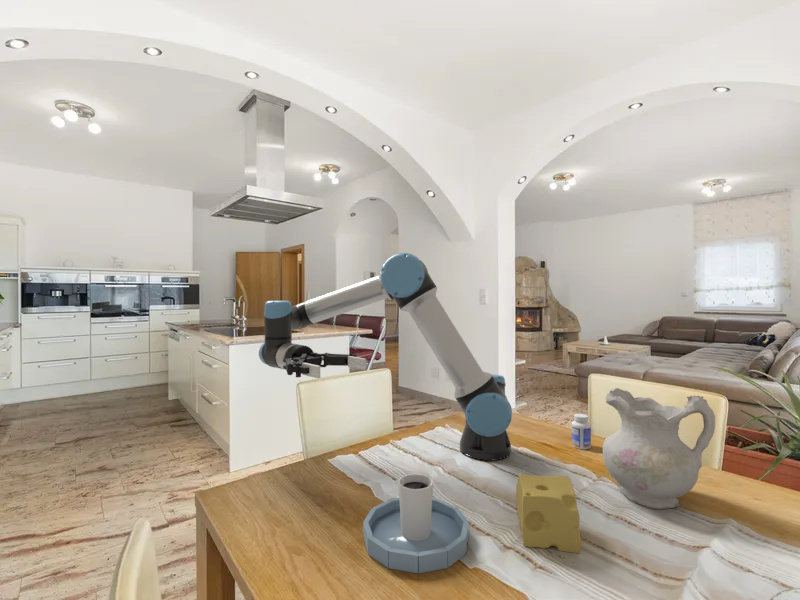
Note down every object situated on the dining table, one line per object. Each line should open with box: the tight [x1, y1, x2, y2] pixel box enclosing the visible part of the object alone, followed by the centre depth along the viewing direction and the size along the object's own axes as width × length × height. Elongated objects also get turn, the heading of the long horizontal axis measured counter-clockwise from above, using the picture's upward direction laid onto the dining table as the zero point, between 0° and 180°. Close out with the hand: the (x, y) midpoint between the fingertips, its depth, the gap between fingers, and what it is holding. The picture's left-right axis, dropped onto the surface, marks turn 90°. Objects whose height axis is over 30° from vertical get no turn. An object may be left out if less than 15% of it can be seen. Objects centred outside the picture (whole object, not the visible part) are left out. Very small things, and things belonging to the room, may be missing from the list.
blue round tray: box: [362, 497, 470, 574], centre depth 80 cm, size 20×20×3 cm
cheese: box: [515, 473, 582, 554], centre depth 80 cm, size 10×11×10 cm
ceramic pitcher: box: [602, 387, 716, 510], centre depth 95 cm, size 22×20×25 cm
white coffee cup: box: [398, 473, 434, 541], centre depth 80 cm, size 7×7×10 cm
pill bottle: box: [571, 413, 592, 450], centre depth 126 cm, size 5×5×10 cm
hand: (343, 368), depth 97 cm, fingers open, 13 cm apart
